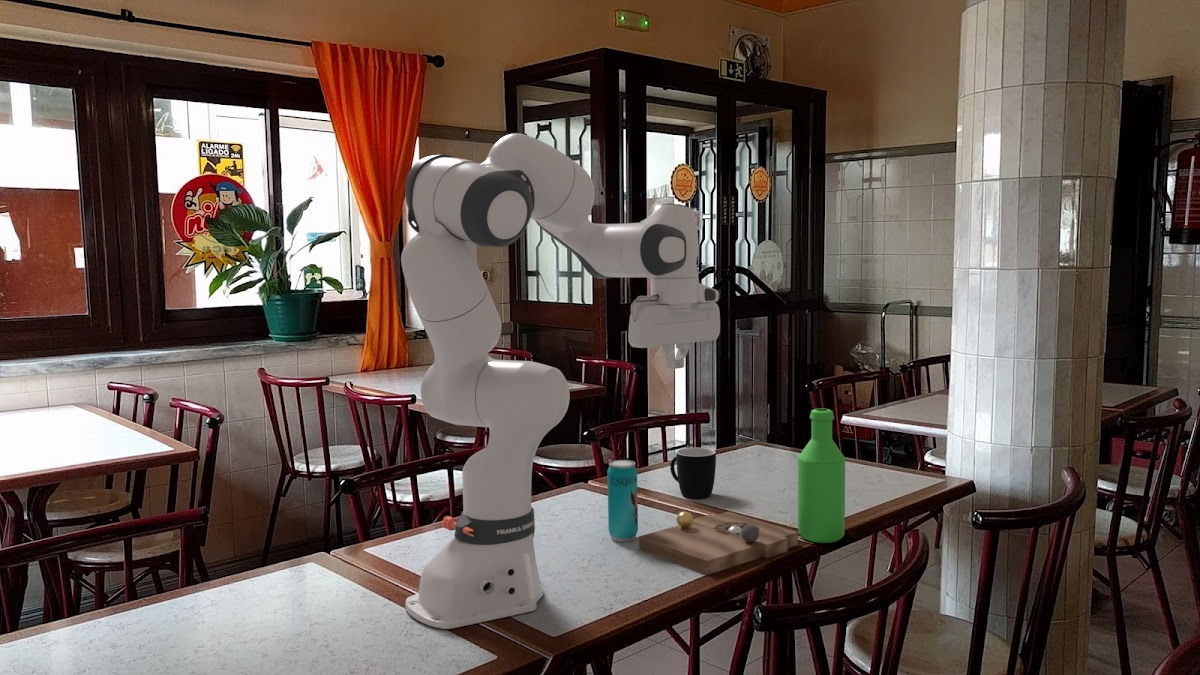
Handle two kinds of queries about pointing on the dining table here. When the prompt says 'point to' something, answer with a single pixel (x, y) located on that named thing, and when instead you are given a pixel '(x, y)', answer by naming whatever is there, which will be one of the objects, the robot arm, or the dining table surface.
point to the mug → (695, 471)
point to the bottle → (821, 483)
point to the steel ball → (735, 529)
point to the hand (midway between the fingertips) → (675, 368)
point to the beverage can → (622, 500)
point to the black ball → (750, 533)
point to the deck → (717, 542)
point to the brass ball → (684, 519)
